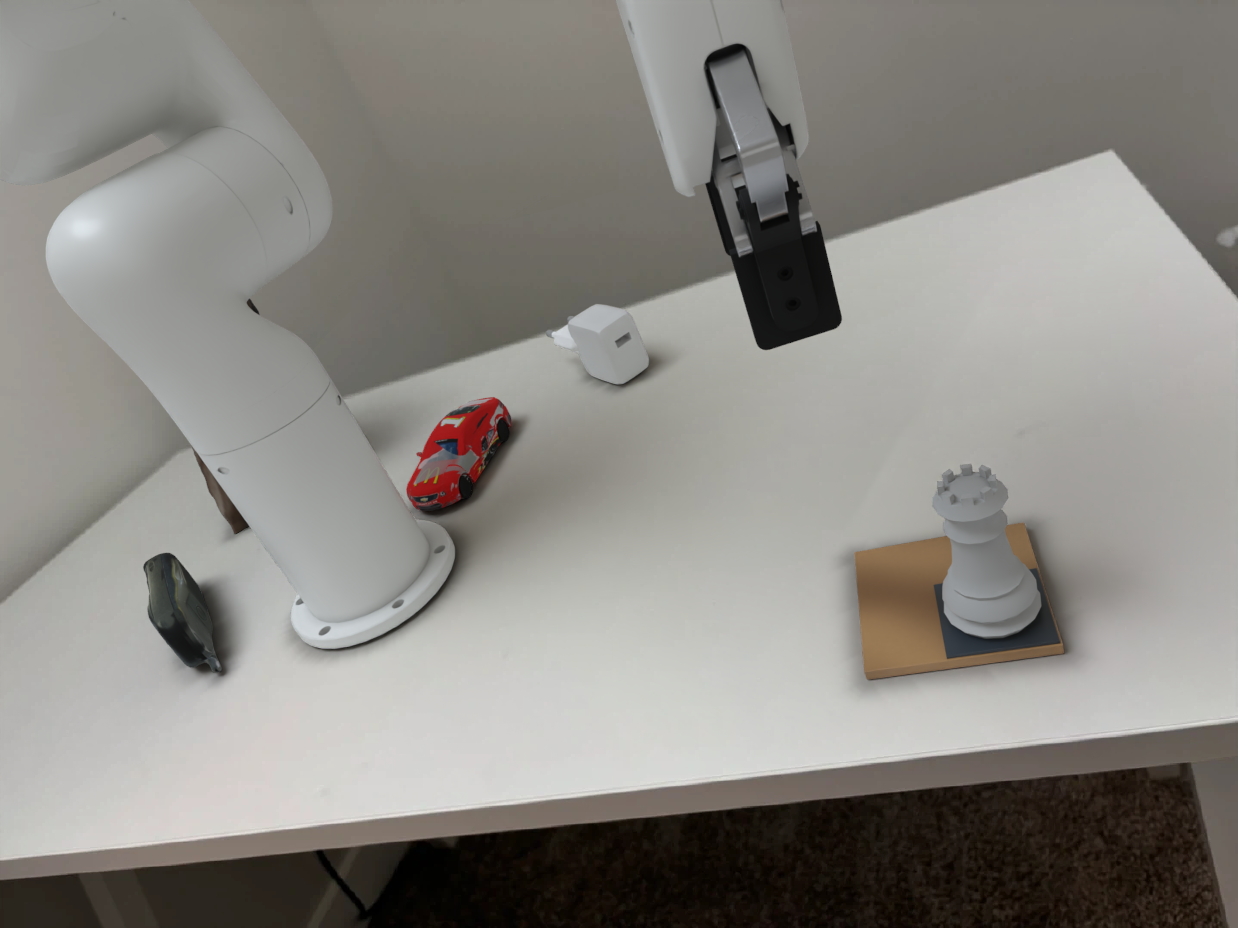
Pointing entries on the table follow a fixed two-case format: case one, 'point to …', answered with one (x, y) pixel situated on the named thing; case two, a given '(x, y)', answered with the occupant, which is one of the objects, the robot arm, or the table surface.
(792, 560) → the table surface
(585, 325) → the power adapter
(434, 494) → the race car
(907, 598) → the cork mat
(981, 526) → the rook chess piece
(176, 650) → the dark green oblong piece
